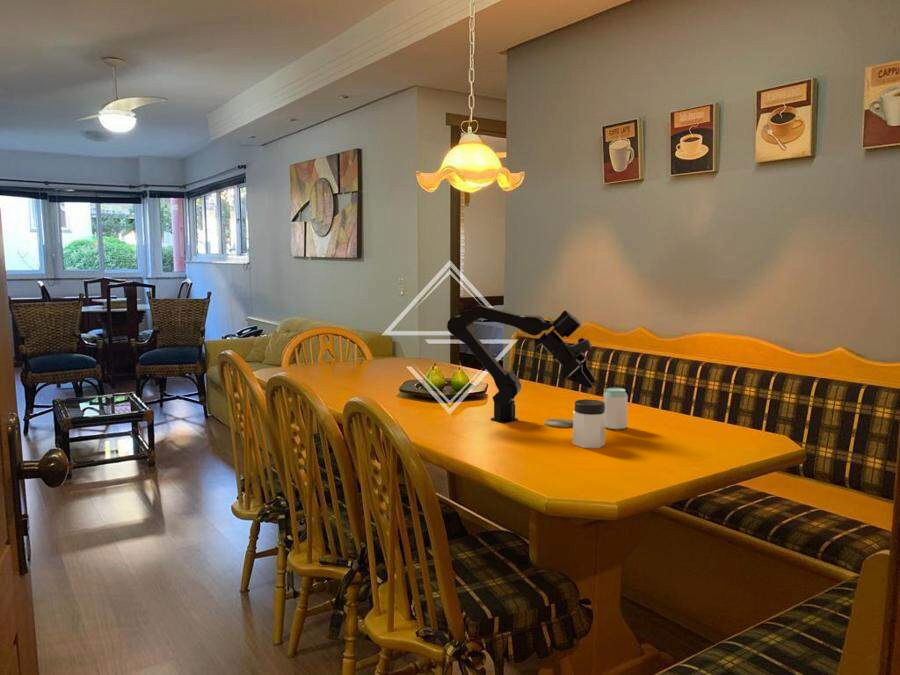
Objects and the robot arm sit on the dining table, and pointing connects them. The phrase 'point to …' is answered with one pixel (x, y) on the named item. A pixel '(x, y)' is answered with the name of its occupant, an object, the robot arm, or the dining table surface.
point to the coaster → (559, 422)
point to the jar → (589, 423)
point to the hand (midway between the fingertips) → (593, 384)
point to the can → (616, 408)
